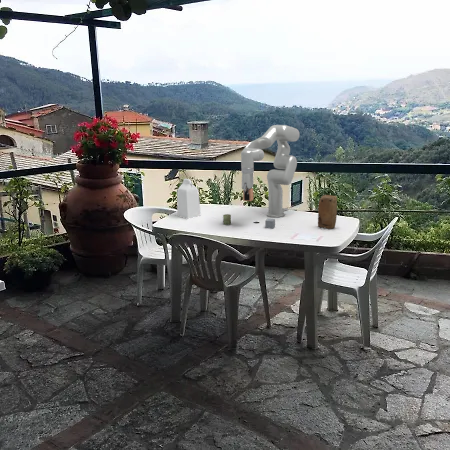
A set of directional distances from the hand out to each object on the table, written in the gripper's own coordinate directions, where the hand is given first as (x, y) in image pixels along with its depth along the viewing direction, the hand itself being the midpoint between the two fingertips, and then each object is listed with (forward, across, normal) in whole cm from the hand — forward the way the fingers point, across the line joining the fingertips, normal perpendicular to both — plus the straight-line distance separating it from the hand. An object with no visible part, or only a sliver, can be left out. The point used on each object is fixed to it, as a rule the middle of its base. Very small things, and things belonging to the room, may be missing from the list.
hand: (248, 198), depth 284 cm
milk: (+18, -12, -48) cm, 53 cm away
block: (+18, -8, +48) cm, 52 cm away
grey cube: (+18, +1, +14) cm, 23 cm away
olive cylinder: (+17, +1, -15) cm, 23 cm away
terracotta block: (+1, 0, 0) cm, 1 cm away
